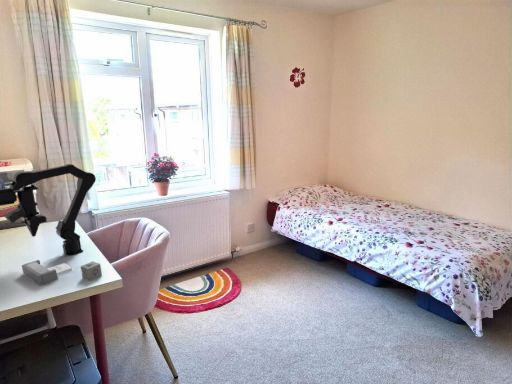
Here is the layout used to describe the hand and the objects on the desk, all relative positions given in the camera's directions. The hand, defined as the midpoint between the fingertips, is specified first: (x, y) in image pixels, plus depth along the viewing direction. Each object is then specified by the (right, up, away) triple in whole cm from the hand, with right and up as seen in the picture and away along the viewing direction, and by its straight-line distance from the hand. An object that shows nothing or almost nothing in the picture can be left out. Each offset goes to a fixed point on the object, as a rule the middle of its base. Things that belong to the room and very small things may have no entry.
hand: (33, 236), depth 148 cm
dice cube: (+32, -14, -14) cm, 37 cm away
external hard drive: (+13, -14, -9) cm, 22 cm away
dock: (+10, -15, -12) cm, 22 cm away
